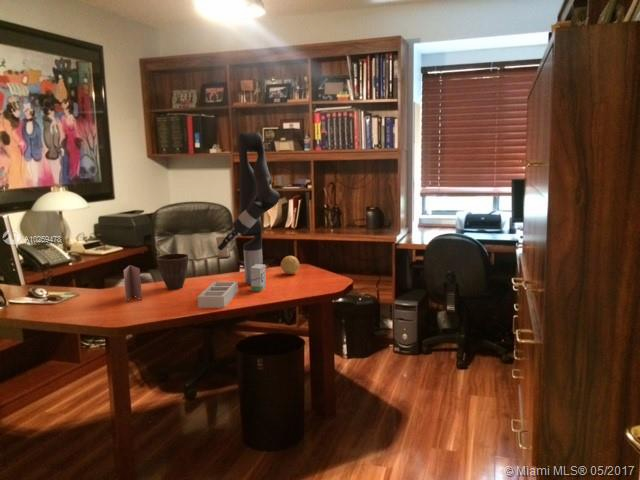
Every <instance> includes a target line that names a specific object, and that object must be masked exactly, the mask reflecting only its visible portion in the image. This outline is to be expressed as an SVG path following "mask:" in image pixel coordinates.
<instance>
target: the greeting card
mask: <svg viewBox="0 0 640 480" xmlns="http://www.w3.org/2000/svg"><path fill="white" fill-rule="evenodd" d="M140 270H141V269H140V268H139V267H137V266H134V265H131V264H129V265H128V266H126V267H125V268H124V269H123V279H124V282H123V283H124V294H125V302H126V301H127V300H128V299H129V298H130V297H131V296H132V295H134V296H136V297H137V298H136V297H135V298H136V299H138V298H140V299H142V300H143V292H142V285H141V284H142V282H141V271H140ZM134 296H132V297H134ZM132 297H131V298H132ZM131 298H130V299H131ZM130 299H129V300H130ZM140 299H139V300H140ZM129 300H128V301H129ZM128 301H127V302H128Z"/></svg>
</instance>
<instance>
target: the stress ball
mask: <svg viewBox="0 0 640 480" xmlns="http://www.w3.org/2000/svg"><path fill="white" fill-rule="evenodd" d="M280 268H281V270H282V271H283V272H284V273H285V274H287V275H289V274H291V275H294V274H295V273H297V271H299V268H300V261H299V260H298V258H297V257H296V256H293V255H288V256H285V257H283V259H282V260H281V261H280Z"/></svg>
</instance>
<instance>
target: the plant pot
mask: <svg viewBox="0 0 640 480" xmlns="http://www.w3.org/2000/svg"><path fill="white" fill-rule="evenodd" d="M156 259H157V265H158V268H159V271H160V275H161V277H162V281H163V282H164V284H165V287H166V288H167V290H171V291H175V290H181V289H183V287H184V284H185V281H186V276H187V273H188V272H187V271H188V266H189V265H188V264H189V255H188V254H186V253H169V254H163V255H158V256H157V257H156Z"/></svg>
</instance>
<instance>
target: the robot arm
mask: <svg viewBox="0 0 640 480" xmlns="http://www.w3.org/2000/svg"><path fill="white" fill-rule="evenodd" d="M237 148H238V149H237V150H238V160H239V162H238V163H239V203H240V204H239V216H238V217H236V219H235V220H234V221H233V222H232V227H233V228H232V229H231V230H230V231H229V233H228V234H227V235H225V236H226V238H225V239H224V240H223V241H222V243H221V244H220V245H219V246H218V249H219V250H222V249H223V248H224V247H225V246H226V245H228V243H229V244H230V243H232V242H233V241H235V239H236V238H238V237H239V236H242V237H253V238H252V239H250V240H248V241H247V242H245V243H243V262H244V281H245V284H246V285H251V267H252V266H254V265H255V264H263V263H264V262H263V259H264V258H263V224H262V223H263V222H262V220H261V217H262V216H263V214H264V213H266V212H268V211H270V210H271V209H273V208H274V207H276V205H277V204H278V203H279V201H280V196H281V195H280V193H279V192H278V191H277V190H275V189H273V188H272V187H271V186H272V183H273V180H272V177H271V174H270V171H269V170H270V169H269V167H268V162H267V158H266V157H267V156H266V151H265V150H266V149H265V146H264V141H263V138H262V135H261V134H260V133H259V132H257V131H256V132H255V131H253V132H252V131H251V132H240V133H239V134H238V138H237ZM255 152H256V153H257V159H256V161H255V164H254V166H253V167H252V165H251V164H250V162H249V158H248V153H255ZM257 197H258V198H259V200H260V201H255V200H256V199H257ZM225 240H227V241H228V242H226V241H225ZM218 249H217V250H218Z"/></svg>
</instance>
